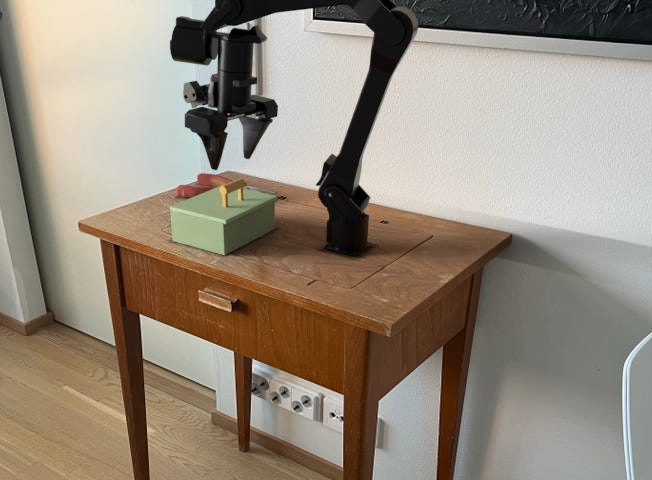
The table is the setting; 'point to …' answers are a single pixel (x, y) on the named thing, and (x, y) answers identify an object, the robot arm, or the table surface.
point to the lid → (224, 203)
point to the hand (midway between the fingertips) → (231, 163)
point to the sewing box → (222, 230)
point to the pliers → (211, 186)
